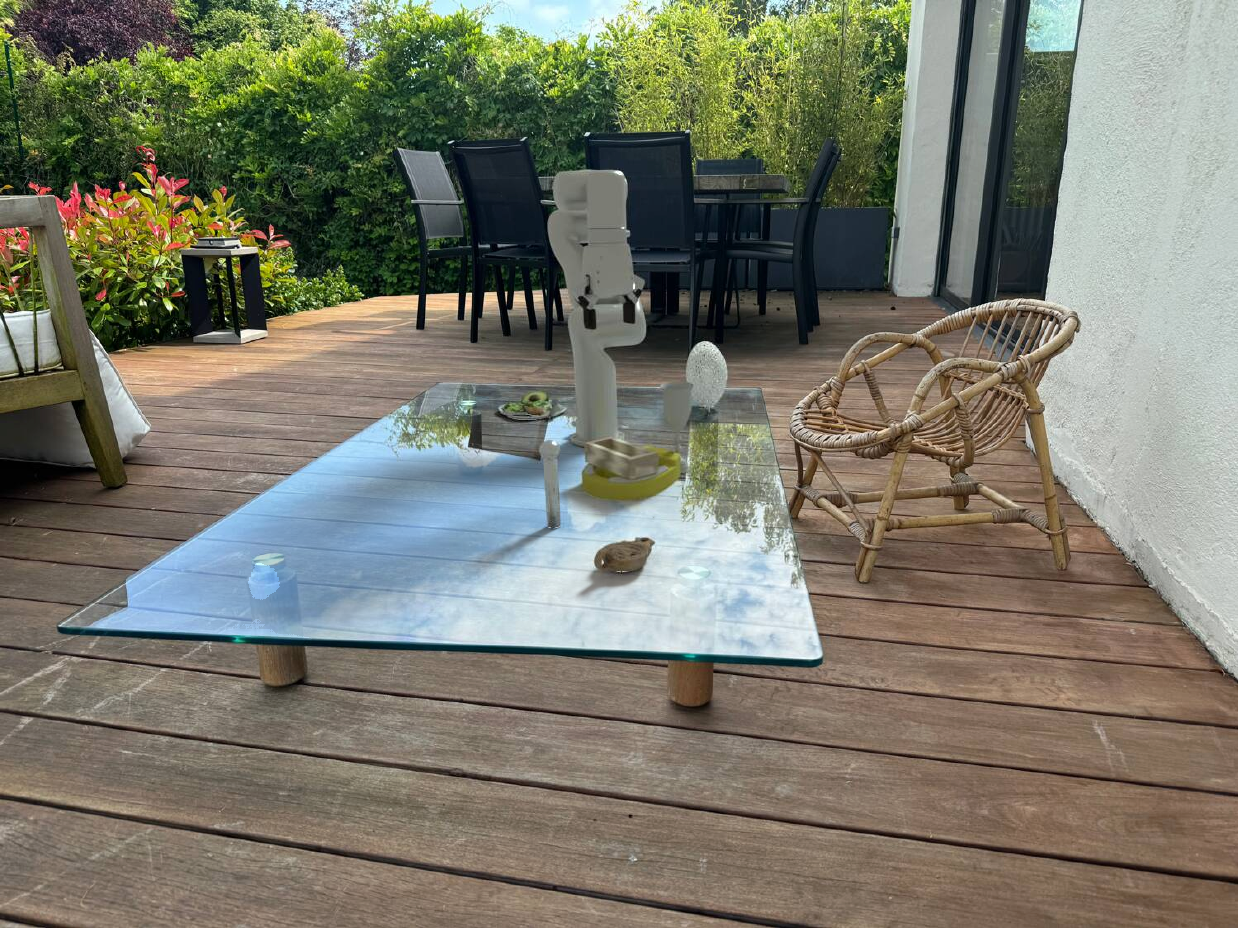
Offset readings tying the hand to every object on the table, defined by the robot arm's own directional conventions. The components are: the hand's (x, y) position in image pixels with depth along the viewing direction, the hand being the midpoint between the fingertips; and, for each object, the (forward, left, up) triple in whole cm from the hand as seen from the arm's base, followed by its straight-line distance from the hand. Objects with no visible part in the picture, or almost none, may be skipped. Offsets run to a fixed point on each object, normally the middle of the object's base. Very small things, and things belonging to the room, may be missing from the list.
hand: (610, 326), depth 170 cm
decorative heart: (-25, +49, -31) cm, 63 cm away
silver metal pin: (+18, -27, -30) cm, 44 cm away
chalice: (+9, +10, -31) cm, 33 cm away
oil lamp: (+40, -28, -31) cm, 57 cm away
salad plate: (-54, +13, -31) cm, 64 cm away
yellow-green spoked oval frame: (+9, -3, -31) cm, 32 cm away
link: (+9, -5, -26) cm, 28 cm away
